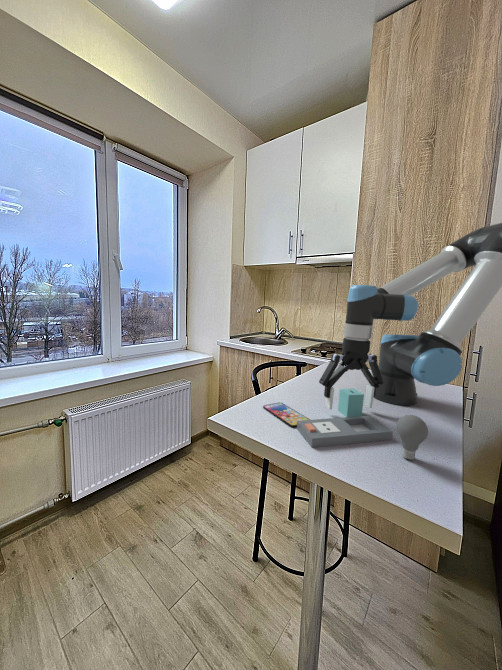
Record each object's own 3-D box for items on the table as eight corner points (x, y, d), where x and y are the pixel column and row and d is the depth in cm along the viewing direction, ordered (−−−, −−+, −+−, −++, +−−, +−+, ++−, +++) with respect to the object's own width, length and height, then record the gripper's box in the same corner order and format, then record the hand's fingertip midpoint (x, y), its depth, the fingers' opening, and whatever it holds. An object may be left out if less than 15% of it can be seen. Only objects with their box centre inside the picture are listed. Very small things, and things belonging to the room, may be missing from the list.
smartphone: (280, 401, 89) (312, 420, 76) (280, 404, 89) (312, 423, 76) (261, 405, 85) (292, 426, 72) (261, 408, 85) (291, 429, 72)
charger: (351, 409, 86) (354, 388, 85) (361, 416, 81) (364, 394, 80) (337, 410, 85) (339, 388, 84) (346, 417, 80) (349, 394, 79)
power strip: (368, 422, 77) (369, 413, 77) (391, 439, 69) (392, 429, 68) (296, 428, 72) (297, 418, 72) (311, 447, 64) (312, 436, 63)
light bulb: (411, 468, 57) (417, 424, 56) (387, 453, 63) (392, 412, 61) (429, 462, 60) (436, 420, 58) (404, 448, 65) (410, 408, 63)
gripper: (384, 337, 86) (375, 400, 89) (312, 335, 80) (305, 403, 84) (402, 341, 79) (392, 410, 82) (324, 339, 73) (316, 413, 76)
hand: (348, 406), depth 83 cm, fingers open, 13 cm apart
